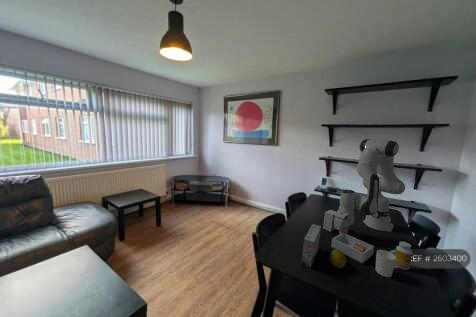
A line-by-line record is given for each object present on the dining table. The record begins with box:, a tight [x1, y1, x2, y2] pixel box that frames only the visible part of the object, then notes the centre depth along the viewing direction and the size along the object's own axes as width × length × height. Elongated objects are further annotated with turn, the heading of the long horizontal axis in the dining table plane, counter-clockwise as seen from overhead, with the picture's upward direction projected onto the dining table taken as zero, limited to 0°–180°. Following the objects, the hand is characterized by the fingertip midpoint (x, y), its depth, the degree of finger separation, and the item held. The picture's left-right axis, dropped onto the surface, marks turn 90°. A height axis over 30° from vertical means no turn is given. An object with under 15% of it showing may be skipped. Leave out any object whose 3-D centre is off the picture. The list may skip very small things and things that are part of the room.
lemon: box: [329, 249, 347, 269], centre depth 102 cm, size 11×8×8 cm
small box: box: [322, 209, 337, 233], centre depth 141 cm, size 8×6×13 cm
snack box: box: [301, 223, 322, 269], centre depth 108 cm, size 21×6×15 cm, turn 148°
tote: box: [330, 233, 375, 264], centre depth 115 cm, size 18×14×6 cm
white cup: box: [374, 249, 396, 278], centre depth 97 cm, size 8×8×10 cm
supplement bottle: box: [394, 241, 413, 271], centre depth 103 cm, size 7×7×13 cm
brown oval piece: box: [338, 226, 349, 235], centre depth 133 cm, size 5×5×7 cm
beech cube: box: [353, 243, 366, 253], centre depth 112 cm, size 5×5×5 cm
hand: (343, 232), depth 133 cm, fingers closed on brown oval piece, 5 cm apart
